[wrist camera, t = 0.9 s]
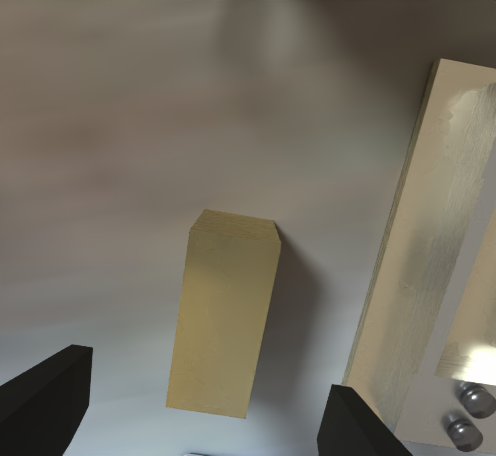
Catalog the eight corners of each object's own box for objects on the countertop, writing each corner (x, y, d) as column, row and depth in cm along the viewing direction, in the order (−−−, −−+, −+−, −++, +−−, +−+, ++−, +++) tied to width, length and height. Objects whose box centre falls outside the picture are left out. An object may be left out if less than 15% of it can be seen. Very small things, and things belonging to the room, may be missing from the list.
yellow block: (246, 354, 18) (245, 418, 14) (185, 345, 18) (165, 407, 14) (272, 220, 17) (281, 244, 12) (205, 208, 16) (189, 229, 12)
